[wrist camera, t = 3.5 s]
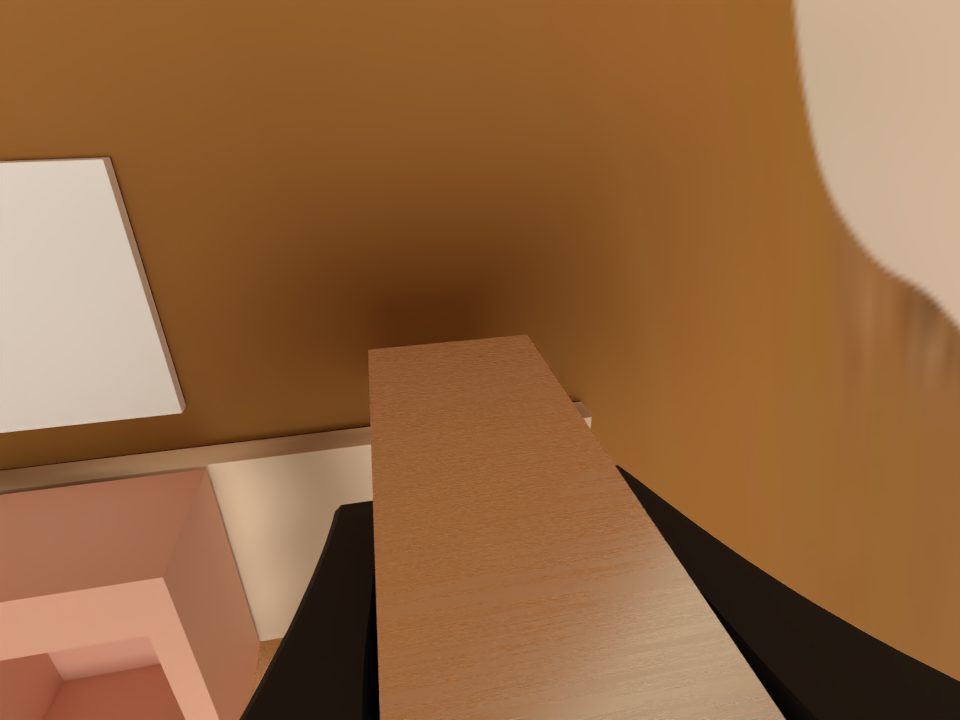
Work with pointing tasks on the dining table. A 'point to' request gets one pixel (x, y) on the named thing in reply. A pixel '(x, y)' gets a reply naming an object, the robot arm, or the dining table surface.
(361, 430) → the birch vise base
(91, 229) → the grey mat
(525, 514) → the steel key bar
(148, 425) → the dining table surface
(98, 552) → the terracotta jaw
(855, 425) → the dining table surface
